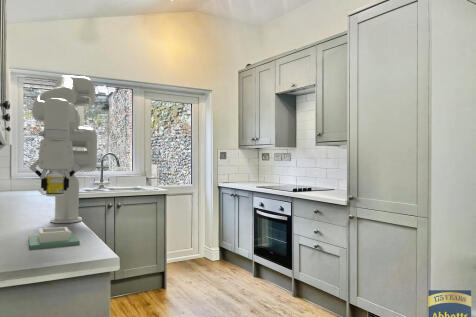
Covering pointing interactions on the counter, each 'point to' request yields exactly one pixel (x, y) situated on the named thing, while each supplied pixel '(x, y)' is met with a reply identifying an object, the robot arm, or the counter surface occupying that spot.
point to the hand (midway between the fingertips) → (55, 189)
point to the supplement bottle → (55, 183)
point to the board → (53, 238)
